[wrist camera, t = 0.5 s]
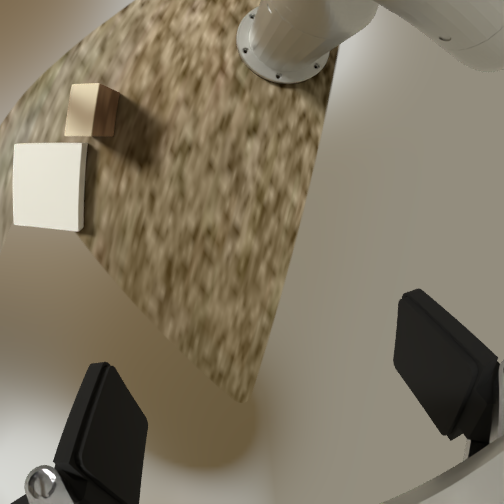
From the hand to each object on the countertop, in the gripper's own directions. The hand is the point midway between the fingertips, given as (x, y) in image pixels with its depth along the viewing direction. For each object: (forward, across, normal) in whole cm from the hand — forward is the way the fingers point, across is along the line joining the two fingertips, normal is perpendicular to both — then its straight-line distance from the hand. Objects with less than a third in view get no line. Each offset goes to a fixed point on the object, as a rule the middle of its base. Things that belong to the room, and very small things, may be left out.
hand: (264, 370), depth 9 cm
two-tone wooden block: (+33, +13, -14) cm, 39 cm away
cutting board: (+33, +24, -8) cm, 42 cm away
